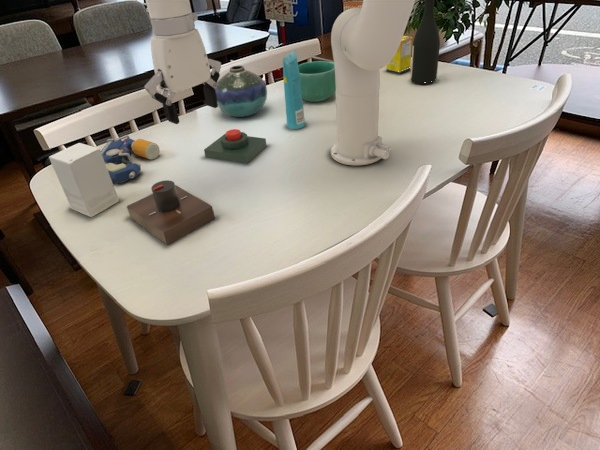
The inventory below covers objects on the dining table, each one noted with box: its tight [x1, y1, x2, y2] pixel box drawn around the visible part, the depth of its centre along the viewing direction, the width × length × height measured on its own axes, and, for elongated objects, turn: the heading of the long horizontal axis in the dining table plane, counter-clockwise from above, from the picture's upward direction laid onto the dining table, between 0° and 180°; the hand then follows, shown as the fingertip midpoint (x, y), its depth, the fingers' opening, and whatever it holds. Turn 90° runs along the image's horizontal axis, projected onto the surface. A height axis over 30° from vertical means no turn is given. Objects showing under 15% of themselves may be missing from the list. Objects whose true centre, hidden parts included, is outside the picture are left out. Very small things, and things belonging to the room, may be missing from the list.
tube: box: [282, 49, 306, 130], centre depth 119 cm, size 7×5×19 cm, turn 162°
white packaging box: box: [48, 142, 120, 218], centre depth 94 cm, size 7×7×13 cm
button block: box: [203, 131, 268, 165], centre depth 113 cm, size 12×10×4 cm
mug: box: [298, 60, 336, 103], centre depth 139 cm, size 17×13×10 cm
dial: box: [150, 179, 180, 212], centre depth 88 cm, size 4×4×5 cm
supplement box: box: [386, 35, 413, 75], centre depth 153 cm, size 6×6×11 cm
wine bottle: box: [410, 0, 441, 86], centre depth 137 cm, size 8×8×30 cm
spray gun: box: [100, 134, 160, 184], centre depth 111 cm, size 21×4×15 cm
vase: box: [215, 65, 268, 118], centre depth 131 cm, size 15×15×13 cm
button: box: [225, 128, 242, 141], centre depth 111 cm, size 4×4×2 cm
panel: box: [126, 184, 216, 246], centre depth 90 cm, size 14×11×3 cm
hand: (193, 114), depth 93 cm, fingers open, 9 cm apart
